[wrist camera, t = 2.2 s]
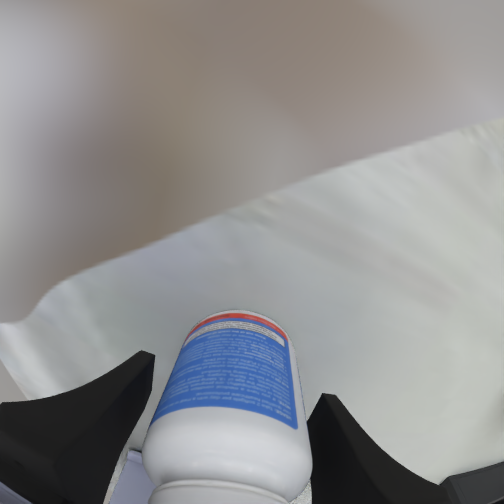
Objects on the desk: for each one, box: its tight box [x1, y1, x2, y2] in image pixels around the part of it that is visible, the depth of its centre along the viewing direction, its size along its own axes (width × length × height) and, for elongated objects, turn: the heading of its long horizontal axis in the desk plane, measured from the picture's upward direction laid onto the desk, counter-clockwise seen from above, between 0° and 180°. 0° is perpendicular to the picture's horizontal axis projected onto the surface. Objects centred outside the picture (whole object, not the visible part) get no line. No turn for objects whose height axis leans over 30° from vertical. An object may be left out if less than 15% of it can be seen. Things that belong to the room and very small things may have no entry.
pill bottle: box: [142, 310, 312, 504], centre depth 9 cm, size 6×5×10 cm
